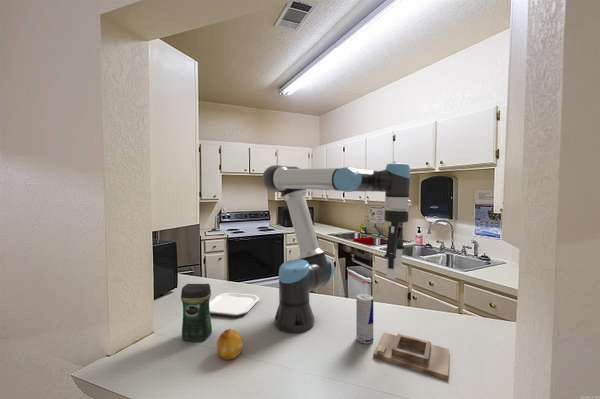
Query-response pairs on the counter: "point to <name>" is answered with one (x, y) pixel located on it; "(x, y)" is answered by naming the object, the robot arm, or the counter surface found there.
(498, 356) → the counter surface
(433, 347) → the socket plate
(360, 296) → the beverage can
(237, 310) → the plate
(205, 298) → the coffee jar
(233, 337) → the fruit
